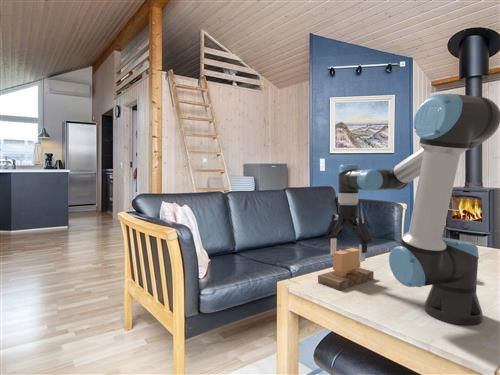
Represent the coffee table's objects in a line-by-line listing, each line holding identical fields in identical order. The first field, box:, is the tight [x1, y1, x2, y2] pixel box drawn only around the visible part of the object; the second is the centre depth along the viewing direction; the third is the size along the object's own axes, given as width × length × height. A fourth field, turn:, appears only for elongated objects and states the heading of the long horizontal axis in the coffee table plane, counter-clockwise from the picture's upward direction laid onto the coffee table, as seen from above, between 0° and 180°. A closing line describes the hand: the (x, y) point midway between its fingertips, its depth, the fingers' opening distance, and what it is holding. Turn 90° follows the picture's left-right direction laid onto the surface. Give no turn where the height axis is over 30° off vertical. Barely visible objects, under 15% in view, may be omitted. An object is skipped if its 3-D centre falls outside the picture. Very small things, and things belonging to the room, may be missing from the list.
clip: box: [332, 247, 361, 278], centre depth 135 cm, size 12×4×12 cm, turn 127°
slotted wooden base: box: [317, 267, 375, 291], centre depth 136 cm, size 22×10×3 cm, turn 127°
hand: (347, 257), depth 135 cm, fingers open, 13 cm apart
